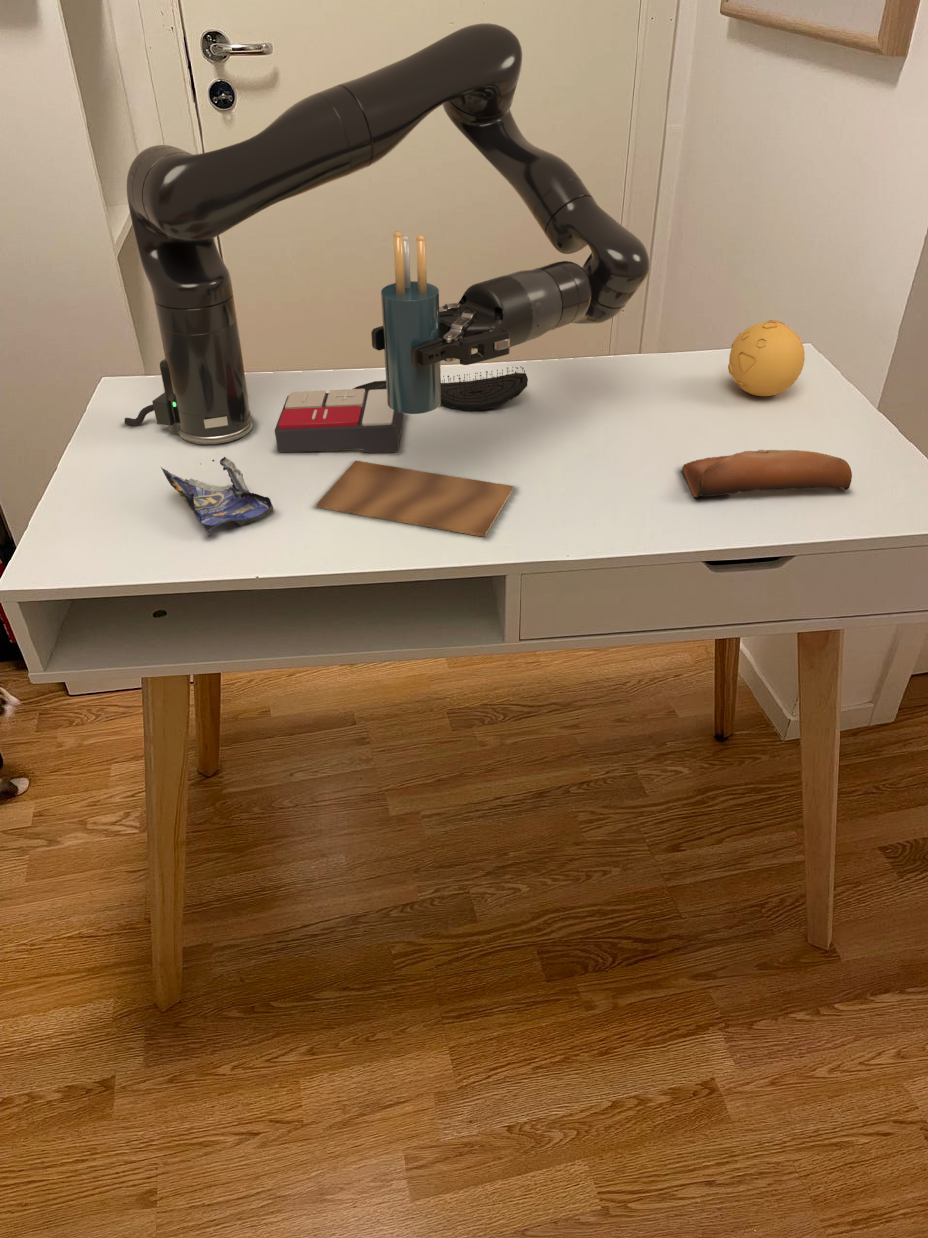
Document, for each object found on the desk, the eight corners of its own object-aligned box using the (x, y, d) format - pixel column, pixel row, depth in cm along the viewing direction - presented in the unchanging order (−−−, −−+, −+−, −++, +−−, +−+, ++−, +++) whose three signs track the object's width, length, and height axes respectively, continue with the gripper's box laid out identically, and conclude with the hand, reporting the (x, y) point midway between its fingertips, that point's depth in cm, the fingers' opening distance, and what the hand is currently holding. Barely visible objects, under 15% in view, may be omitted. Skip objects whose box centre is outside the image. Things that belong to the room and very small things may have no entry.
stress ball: (790, 380, 138) (805, 311, 132) (801, 410, 130) (818, 337, 124) (719, 377, 139) (731, 308, 133) (726, 406, 131) (739, 334, 125)
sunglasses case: (820, 456, 118) (843, 426, 112) (834, 507, 115) (858, 478, 109) (677, 464, 116) (692, 433, 110) (687, 516, 114) (703, 487, 107)
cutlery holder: (376, 401, 104) (365, 228, 93) (417, 386, 107) (411, 216, 96) (410, 419, 100) (403, 241, 90) (452, 402, 104) (449, 229, 93)
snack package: (268, 479, 115) (167, 487, 112) (264, 434, 110) (158, 441, 108) (277, 546, 107) (168, 556, 104) (273, 501, 102) (159, 510, 100)
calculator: (286, 388, 126) (400, 383, 126) (291, 418, 129) (403, 414, 128) (272, 425, 118) (395, 420, 117) (278, 457, 120) (398, 452, 120)
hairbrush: (346, 367, 134) (526, 358, 134) (349, 392, 136) (526, 383, 136) (341, 392, 128) (529, 382, 127) (344, 417, 130) (530, 408, 129)
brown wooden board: (316, 507, 109) (316, 503, 109) (355, 463, 117) (355, 460, 117) (485, 537, 104) (485, 533, 104) (513, 489, 112) (513, 485, 112)
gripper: (556, 360, 105) (439, 405, 96) (468, 325, 114) (353, 363, 105) (560, 292, 101) (437, 332, 92) (468, 260, 109) (348, 294, 100)
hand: (393, 348), depth 98 cm, fingers closed on cutlery holder, 6 cm apart
